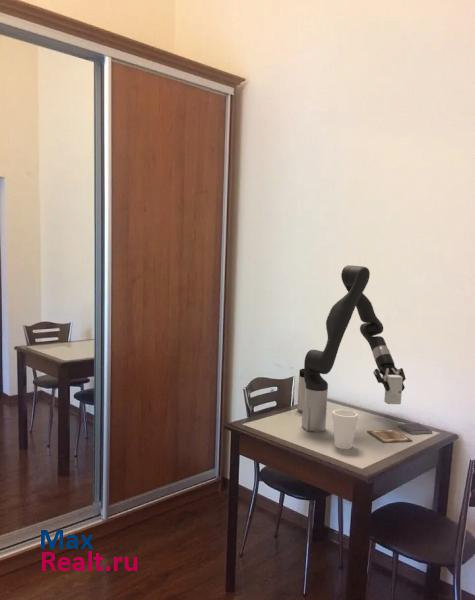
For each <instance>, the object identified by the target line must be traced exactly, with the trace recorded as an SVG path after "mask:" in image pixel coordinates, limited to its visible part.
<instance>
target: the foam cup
mask: <svg viewBox="0 0 475 600" xmlns="http://www.w3.org/2000/svg"><path fill="white" fill-rule="evenodd" d="M331 416H332V417H331V418H332V423H333V438H334V446H335V447H336V448H338V449H341V450H350V449H352V447H353V443H354V438H355V437H354V436H355V434H356V433H355V432H356V427H357V423H358V420H359V419H358V417H359V414H358V413H357V412H356V411H354V410H350V409H334V410H332V415H331Z"/></svg>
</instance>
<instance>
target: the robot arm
mask: <svg viewBox="0 0 475 600" xmlns="http://www.w3.org/2000/svg"><path fill="white" fill-rule="evenodd" d="M370 274H371V272H370V270H369V268H368V267H367V266H360V265H346V266H344V267H343V269H342V270H341V275H340V276H341V277H340V278H341V281H342V284H343V286H344V287H345V289H346V291H347V293H346V294H345V295H344V296H342V298H340V299H338V301H336V303H335V304H333V305H332V306H331V308H330V310H329V313H328V315H327V317H326V321H325V327H326V334H327V342H326V345H325V347H324V349H323V350H317V349H310V350H308V352H307V353H306V354H305V357H304V362H303V364H304V367H303V369H304V380H305V384H306V391H305V404H304V405H303V413H302V417H301V418H302V419H301V427H302V428H303V429H305V431H307V432H315V433H316V432H319V433H321V432H324V431H325V430H326V428H327V427H326V425H327V409H328V408H327V406H328V390H329V383H328V381H326V380H325V379H324V378H323V376H322V375H328V374H329V373H330V372H331V371H332V369H333V367H334V366H335V365H334V364H335V361H336V358H337V356H338V355H337V354H338V351H339V348H340V345H341V343H342V340H343V337H344V336H345V332H346V330H347V328H348V326H349V324H350V321H351V319H352V317H353V313H354V311H355V308H356V310H357V313H358V315H359V319H360V321H361V322H362V324H360V326H359V331H360V332H359V333H360V334H361V335H362V336H363V338H364V339H365V340H366V342H367V343H368V344H369V348H370V349H371V352H372V356H373V358H374V361H375V364H376V366H377V368H375V369H374V370H373V372H372V373H373V375H374V377H375V379H376V381H377V383H379V384H382V385H383V387H384V391H385V390H386V391H389V390H390V387H389V384H388V382H387V375H399V376H401V377H403V381H402V392H403V391H404V390H405V388H406V386H405V384H404V382H405V381H406V379H407V378H406V375H405V372H404V368H402V367H401V368H397V367H396V365H395V361H394V359H393V356H392V354H391V352H390V349H389V348H388V346H387V343H386V341H385V339H384V337H382V336H381V335H380V334H382V333H383V332H384V326H383V323H382V322H381V320H380V319H379V318H378V316H377V314H376V313H375V310H374V307H373V303H372V302H371V301H370V299H369V298H368V297H367V296H366V295H365V293H364V291H365V290H366V287H367V285H368V283H369V280H370V276H371V275H370Z"/></svg>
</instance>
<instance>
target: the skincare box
mask: <svg viewBox="0 0 475 600" xmlns="http://www.w3.org/2000/svg"><path fill="white" fill-rule="evenodd" d="M402 381H403V377H401V376H399V375H387V382H388V384H389V387H390V390H389V391H386V390H385V389H384V399H383V401H384V403H386V405H387V404H388V405H401V404H402V395H403V394H402V392H403V391H402Z"/></svg>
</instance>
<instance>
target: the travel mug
mask: <svg viewBox="0 0 475 600" xmlns="http://www.w3.org/2000/svg"><path fill="white" fill-rule="evenodd" d="M305 391H306V384H305V380H304V368H301V369H299V376H298V392H297V394H298V395H297V412H298V413H302V414H303V405H304V404H305Z"/></svg>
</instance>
